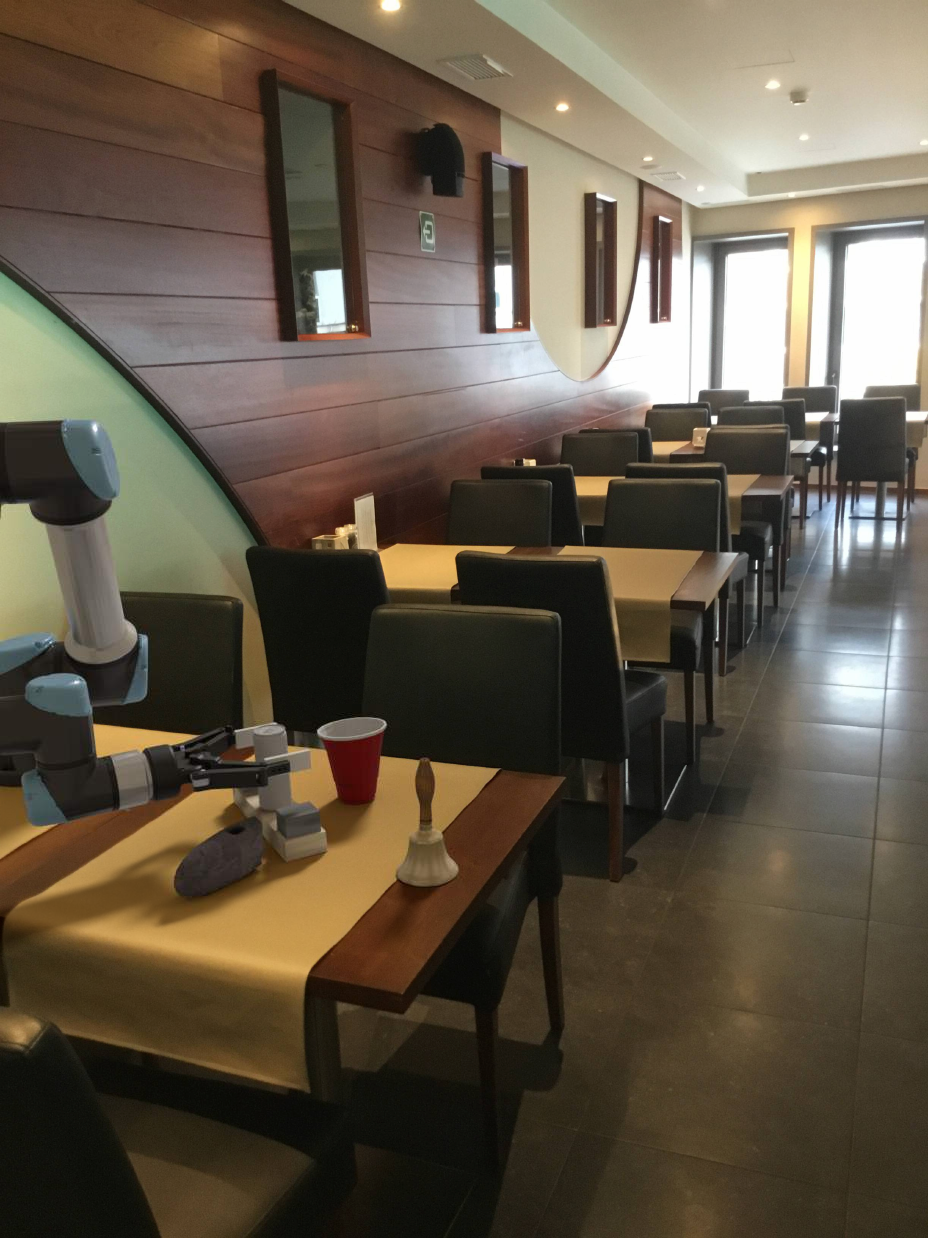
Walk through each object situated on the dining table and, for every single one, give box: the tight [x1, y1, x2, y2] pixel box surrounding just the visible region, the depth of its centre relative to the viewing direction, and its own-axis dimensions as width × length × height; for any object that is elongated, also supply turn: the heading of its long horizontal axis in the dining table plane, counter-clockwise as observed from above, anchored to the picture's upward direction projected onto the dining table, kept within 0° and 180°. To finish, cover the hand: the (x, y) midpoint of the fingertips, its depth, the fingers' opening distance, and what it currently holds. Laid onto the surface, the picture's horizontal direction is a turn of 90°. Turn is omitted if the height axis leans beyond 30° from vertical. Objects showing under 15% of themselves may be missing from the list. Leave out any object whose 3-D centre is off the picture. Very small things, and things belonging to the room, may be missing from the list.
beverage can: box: [253, 723, 293, 812], centre depth 147 cm, size 5×5×12 cm
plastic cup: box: [316, 716, 388, 805], centre depth 157 cm, size 11×11×12 cm
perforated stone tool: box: [173, 816, 266, 898], centre depth 132 cm, size 15×5×7 cm, turn 142°
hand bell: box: [395, 757, 460, 887], centre depth 132 cm, size 8×8×16 cm
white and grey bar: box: [232, 787, 328, 863], centre depth 148 cm, size 24×6×6 cm, turn 30°
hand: (293, 744), depth 148 cm, fingers open, 13 cm apart
